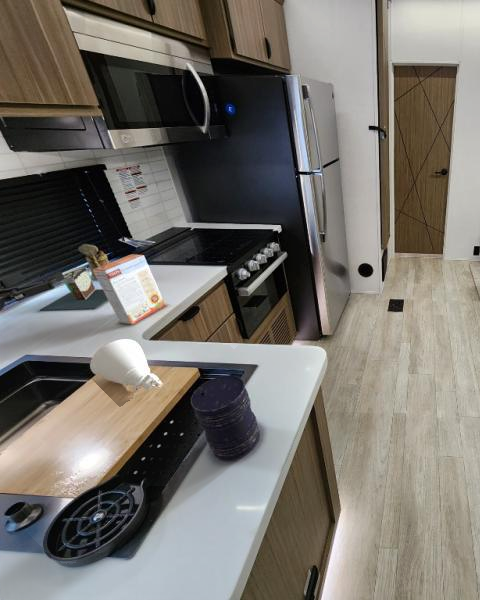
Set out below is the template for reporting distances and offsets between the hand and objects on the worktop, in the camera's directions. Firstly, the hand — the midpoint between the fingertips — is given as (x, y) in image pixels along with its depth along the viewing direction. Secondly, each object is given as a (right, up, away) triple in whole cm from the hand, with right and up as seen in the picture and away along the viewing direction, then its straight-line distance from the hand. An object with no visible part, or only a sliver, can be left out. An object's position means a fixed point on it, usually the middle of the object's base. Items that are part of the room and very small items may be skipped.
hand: (41, 275), depth 116 cm
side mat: (0, -8, +16) cm, 18 cm away
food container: (-4, -7, +18) cm, 20 cm away
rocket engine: (+54, -32, -27) cm, 68 cm away
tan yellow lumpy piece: (-8, +1, +34) cm, 35 cm away
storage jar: (+89, -40, -42) cm, 107 cm away
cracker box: (+31, -14, +6) cm, 35 cm away
